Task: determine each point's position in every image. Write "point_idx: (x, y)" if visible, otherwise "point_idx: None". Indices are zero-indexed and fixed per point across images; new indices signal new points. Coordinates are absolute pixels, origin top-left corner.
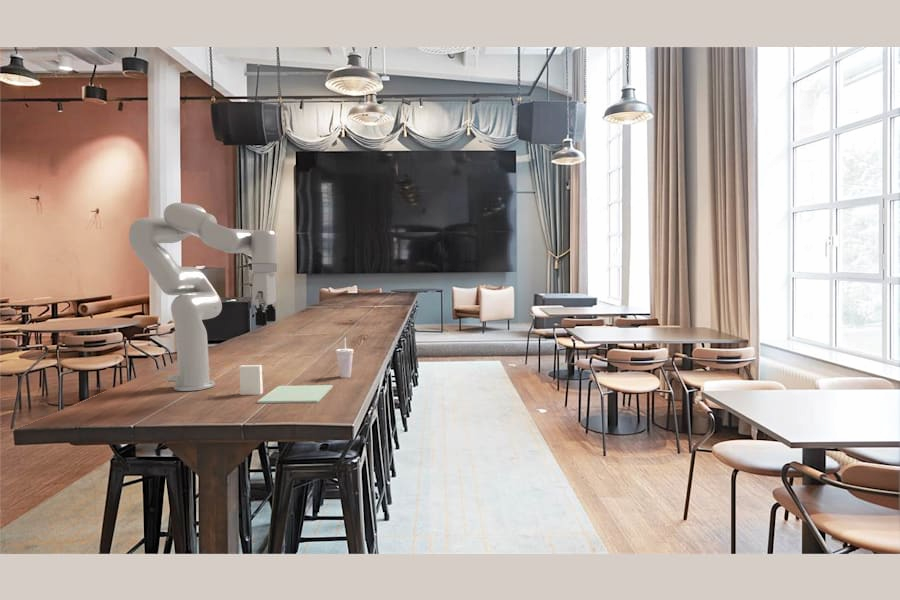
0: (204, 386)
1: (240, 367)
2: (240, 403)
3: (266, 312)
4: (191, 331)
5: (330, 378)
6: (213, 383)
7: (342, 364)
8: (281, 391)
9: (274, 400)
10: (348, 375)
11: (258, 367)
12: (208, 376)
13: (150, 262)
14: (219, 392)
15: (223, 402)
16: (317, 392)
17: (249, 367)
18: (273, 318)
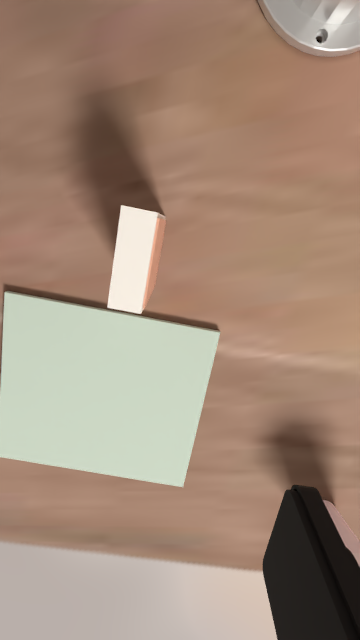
0: (272, 18)
1: (121, 212)
2: (11, 235)
3: (326, 618)
4: None
5: (309, 474)
6: (323, 50)
7: None
8: (128, 351)
9: (8, 344)
10: None
11: (108, 302)
12: (346, 2)
13: None
14: (198, 114)
15: (31, 170)
16: (93, 452)
17: (114, 259)
18: (271, 586)
